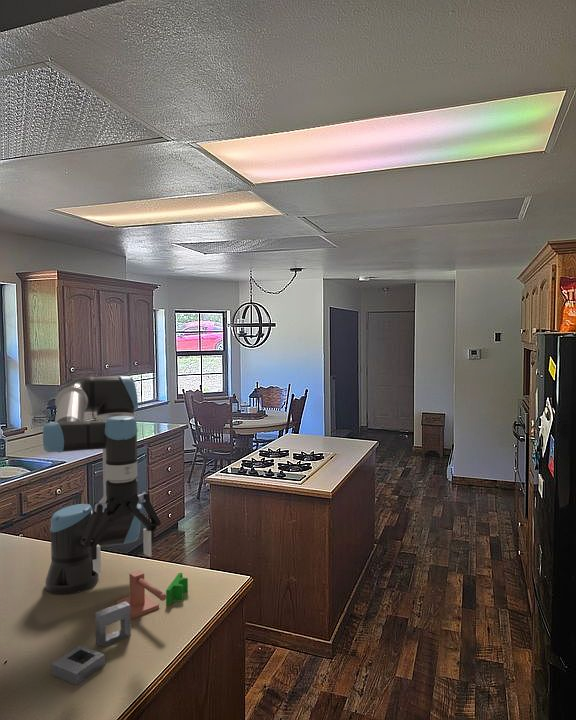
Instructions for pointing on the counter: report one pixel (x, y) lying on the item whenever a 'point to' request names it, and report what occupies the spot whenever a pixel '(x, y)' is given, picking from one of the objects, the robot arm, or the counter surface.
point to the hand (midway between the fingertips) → (123, 562)
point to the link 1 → (77, 664)
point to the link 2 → (108, 617)
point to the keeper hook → (141, 595)
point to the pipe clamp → (177, 589)
